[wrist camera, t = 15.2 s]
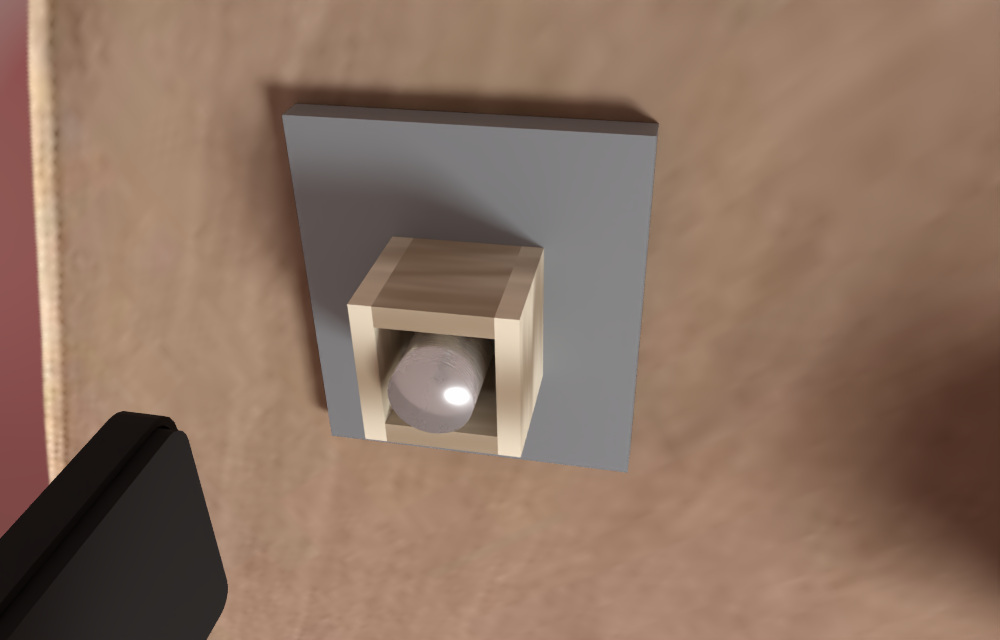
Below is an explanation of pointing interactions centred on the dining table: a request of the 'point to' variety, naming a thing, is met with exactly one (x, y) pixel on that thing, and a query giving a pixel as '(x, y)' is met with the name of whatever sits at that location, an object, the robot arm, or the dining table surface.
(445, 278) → the birch collar
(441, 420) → the grey cylinder
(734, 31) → the dining table surface
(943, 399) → the dining table surface
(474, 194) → the grey board
